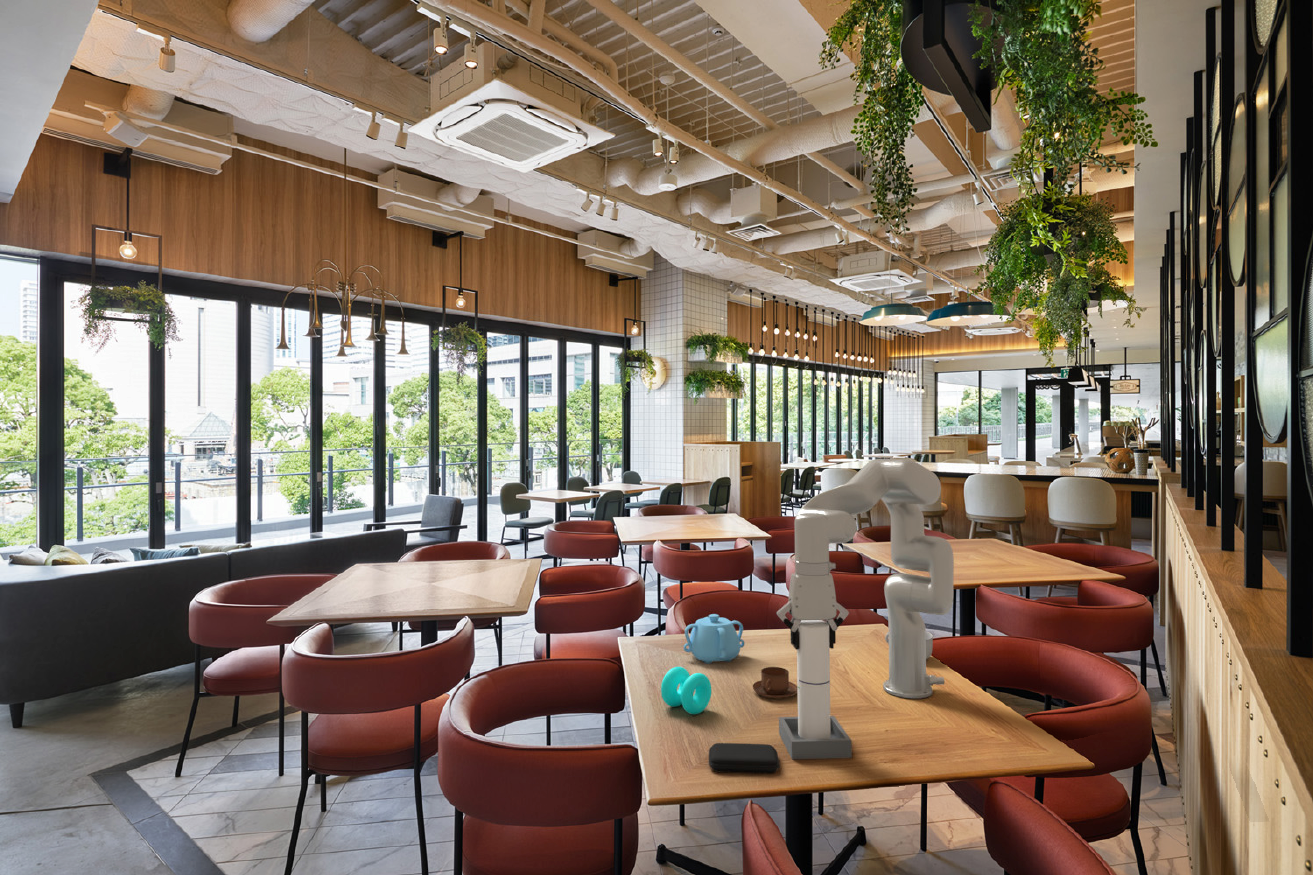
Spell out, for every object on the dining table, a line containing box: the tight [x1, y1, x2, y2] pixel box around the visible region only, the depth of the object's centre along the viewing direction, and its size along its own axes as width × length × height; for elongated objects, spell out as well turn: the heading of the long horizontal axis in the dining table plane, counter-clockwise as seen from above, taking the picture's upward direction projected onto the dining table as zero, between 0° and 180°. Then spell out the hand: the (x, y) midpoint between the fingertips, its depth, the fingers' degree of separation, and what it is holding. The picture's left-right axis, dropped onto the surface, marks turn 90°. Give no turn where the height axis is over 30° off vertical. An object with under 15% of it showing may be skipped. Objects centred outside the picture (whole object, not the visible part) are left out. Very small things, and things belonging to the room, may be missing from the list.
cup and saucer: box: [752, 666, 798, 699], centre depth 186 cm, size 12×12×6 cm
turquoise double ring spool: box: [660, 666, 712, 715], centre depth 176 cm, size 10×10×10 cm
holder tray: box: [778, 715, 853, 760], centre depth 155 cm, size 13×13×4 cm
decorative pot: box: [683, 613, 745, 664], centre depth 216 cm, size 16×16×14 cm
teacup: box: [884, 630, 934, 660], centre depth 214 cm, size 14×11×8 cm
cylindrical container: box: [796, 620, 831, 739], centre depth 155 cm, size 7×7×25 cm
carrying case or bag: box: [708, 742, 781, 774], centre depth 147 cm, size 11×3×15 cm
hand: (813, 646), depth 155 cm, fingers closed on cylindrical container, 7 cm apart
